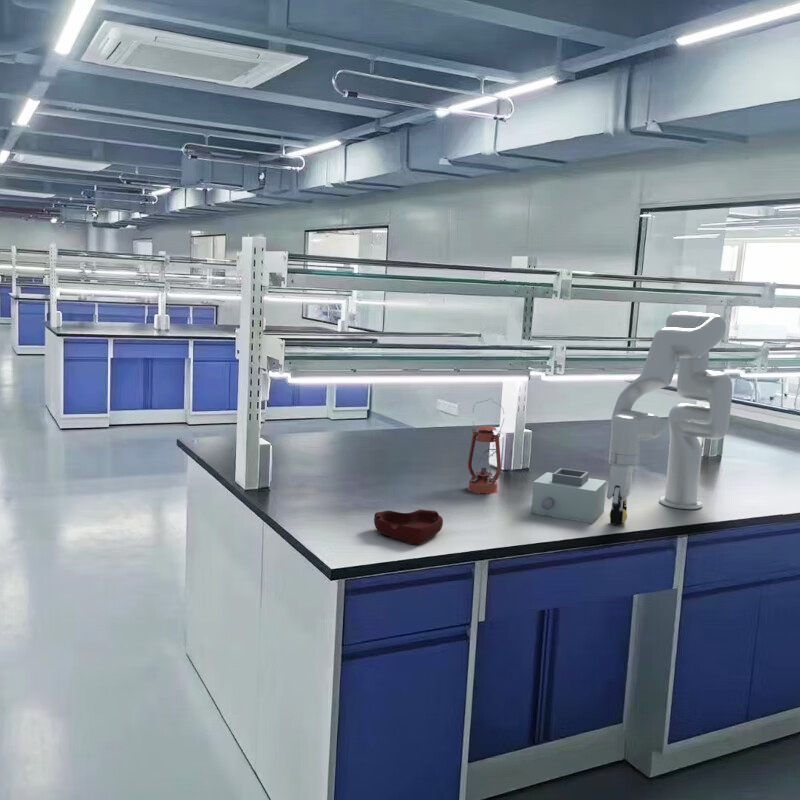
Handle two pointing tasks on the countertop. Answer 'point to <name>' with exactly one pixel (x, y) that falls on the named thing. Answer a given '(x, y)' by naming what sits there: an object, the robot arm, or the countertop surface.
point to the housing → (569, 495)
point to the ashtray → (409, 525)
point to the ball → (623, 515)
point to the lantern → (483, 479)
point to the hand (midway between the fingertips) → (617, 521)
